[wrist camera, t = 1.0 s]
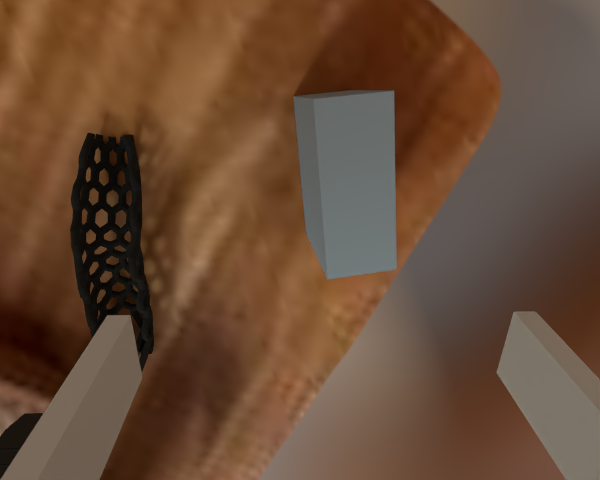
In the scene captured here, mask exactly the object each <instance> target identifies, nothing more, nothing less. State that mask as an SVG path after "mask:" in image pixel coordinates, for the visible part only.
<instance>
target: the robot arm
mask: <svg viewBox="0 0 600 480" xmlns="http://www.w3.org/2000/svg"><path fill="white" fill-rule="evenodd" d="M497 374H498V375H499V377H500V379H501V380H502V381H503V383H504V385H505V386H506V388H507V389H508V391H509V392H510V394H511V396H512V397H513V399H514V400H515V402H516V403H517V405H518V406H519V408H520V409H521V411H522V412H523V414H524V416H525V417H526V418H527V420H528V422H529V423H530V425H531V426H532V428H533V429H534V431H535V433H536V434H537V435H538V437H539V439H540V440H541V442H542V443H543V445H544V446H545V448H546V449H547V451H548V453H549V454H550V456H551V457H552V459H553V460H554V462H555V463H556V465H557V466H558V468H559V469H560V471H561V473H562V474H563V476H564V477H565V479H566V480H600V380H599V379H598V377H597V376H596V375H595V374H594V373H593V372H592V371H591V370H590V369H589V368H588V367H587V366H586V365H585V364H584V363H583V362H582V360H581V359H579V357H578V356H577V355H576V354H575V353H574V352H573V351H572V350H571V349H570V348H569V347H568V346H567V345H566V344H565V342H564V341H563V340H562V339H561V338H560V337H559V336H558V335H557V334H556V333H555V332H554V331H553V330H552V329H551V328H550V327H549V326H548V325H547V323H546V322H545V321H544V320H543V319H542V318H541V317H540V316H539V315H538V314H537V313H536V312H514V313H513V317H512V320H511V324H510V328H509V331H508V334H507V338H506V342H505V345H504V349H503V352H502V356H501V360H500V363H499V367H498V370H497ZM142 378H143V377H142V372H141V367H140V362H139V357H138V352H137V346H136V341H135V336H134V331H133V326H132V320H131V315H107V317H106V318H105V320H104V321H103V323H102V324H101V326H100V327H99V329H98V330H97V332H96V333H95V335H94V337H93V338H92V340H91V341H90V343H89V344H88V346H87V347H86V349H85V350H84V352H83V353H82V355H81V357H80V358H79V360H78V361H77V363H76V364H75V366H74V367H73V369H72V370H71V372H70V373H69V375H68V377H67V378H66V380H65V381H64V383H63V384H62V386H61V387H60V389H59V390H58V392H57V393H56V395H55V396H54V398H53V400H52V401H51V403H50V404H49V406H48V407H47V409H46V410H45V412H44V413H33V414H24V415H23V416H21V417H20V418H19V419H18V420H17V421H15V422H14V423H13V424H12V425H11V426H9V427H8V428H7V429H6V430H5V431H4V432H3V434H2V435H1V436H0V480H100V477H101V475H102V473H103V470H104V468H105V466H106V463H107V461H108V459H109V456H110V454H111V451H112V449H113V447H114V444H115V442H116V440H117V437H118V435H119V433H120V430H121V428H122V425H123V423H124V421H125V418H126V416H127V414H128V411H129V409H130V407H131V404H132V402H133V399H134V397H135V395H136V392H137V390H138V388H139V385H140V383H141V381H142Z"/></svg>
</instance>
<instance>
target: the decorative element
mask: <svg viewBox="0 0 600 480" xmlns="http://www.w3.org/2000/svg"><path fill="white" fill-rule="evenodd" d="M94 138H95V139H94ZM98 147H99V149H100V151H101V161H100V162H99V163H97V164H96V162H95V160H94V157H95V151H96V149H97V148H98ZM112 149H113V150H114V151H115V152H116V156H117V163H116V164H115V165H114V166H112V165H111V164H110V163H109V152H110V151H111V150H112ZM125 150H126V152H127V157H128V164H127V165H126V163H125V160H124V152H125ZM88 167H90V169H91V180H90V181H89V182H87V181H86V179H85V178H86V170H87V169H88ZM104 168H105V169H106V170H107V171H108V173H109V183H108V184H107V185H105V186H103V185H102V184H101V183H100V182H99V173H100V171H101V170H102V169H104ZM120 170H122V171H123V172H124V173H125V181H126V183H125V184H124V185H123V187H121V186H120V185H119V184H117V173H118V172H119V171H120ZM93 188H95V189H96V190H97V191H98V192H99V199H98V202H97V203H96V204H94V205H93V206H92V204H91V203H90V202H89V193H90V190H91V189H93ZM112 189H113V190H114V191H116V192H117V193H118V195H119V196H118V203H117V204H116V205H115V206H113V207H111V206H110V205H109V204H108V203H107V202H106V198H107V193H108V192H110V191H111V190H112ZM129 190H130V191H131V193H132V203H131V205H130V206H129V205H128V204H127V203H126V194H127V192H128V191H129ZM80 193H81V196H80ZM71 203H72V207H73V220H72V224H71V228H70V232H71V247H72V251H73V255H74V263H75V271H76V278H77V284H78V290H79V293H80V297H81V298H82V299H83V302H84V306H85V312H86V319H87V323H88V326H89V327H90V329H91V334H92V338H93V337H94V335H95V333H96V332H97V330H98V329H99V327H100V326H101V324H102V323H103V321H104V320H105V318H106V317H107V315H118V311H119V310H120V309H121V308H122V307H124V308H126V309H128V310H130V312H131V314H132V316H133V317H134V319H135V321H136V322H137V324H138V326H139V327H140V332H139V335H138V338H137V341H136V346H137V352H138V356H139V353H140V352H141V356H140V360H139V362H140V367H141V372H142V371H143V368H144V365H145V363H146V360H147V357H148V354H152V352H153V347H154V340H153V339H154V335H153V315H152V310H151V306H150V294H149V287H148V283H147V280H146V277H145V274H144V263H143V256H142V251H141V247H140V237H141V228H142V191H141V177H140V169H139V163H138V158H137V153H136V148H135V143H134V137H133V135H123V136H122V137H120V144H119V145H118V144H117V143H116V138H115V137H109V142H108V143H106V144H105V143H104V141H103V135H99V134H96V136H95V135H94V134H92V133H88V134H87V136H86V139H85V141H84V144H83V146H82V149H81V152H80V155H79V169H78V175H77V179H76V181H75V183H74V185H73V189H72V196H71ZM84 208H85V209H86V211H87V212H88V213H87V222H86V223H85V224H84V225H83V224H82V210H83V209H84ZM100 209H103V210H105V211H106V212H107V213H108V223H107V224H105V225H104V226H102V227H101V228H100V227H99V226H98V225H97V224H96V223H95V217H96V213H97V212H98V211H99V210H100ZM120 210H123V211H124V212H125V213H126V224H125V225H124V226H123V227H121V228H120V227H119V226H118V225H117V224H115V219H116V213H117V212H119V211H120ZM90 229H91V230H92V231H93V232H94V233H95V234H96V240H95V241H94V242H92V243H91V244H88V243H87V242H86V233H87V232H88V231H89V230H90ZM110 230H112V231H113V232H115V233H116V234H117V238H116V239H115V240H113V241H107V240H104V234H105V233H107V232H108V231H110ZM128 231H130V233H131V242H128V241H126V240H125V239H124V235H125V234H126V233H127V232H128ZM119 245H120V246H122V247H123V248H124V249H126V252H121V251H118V250H115V249H114V247H116V246H119ZM100 246H103V247H106V248H107V250H106V251H105V252H103V253H102V254H94V251H95V250H96V249H97V248H98V247H100ZM84 250H85V251H86V255H87V257H86V260H85V262H84V264H83V260H82V255H83V253H84ZM111 256H113V257H116V258H119V263H117V264H116V265H111V264H107V263H106V259H108V258H109V257H111ZM126 258H129V259H128V262H127V259H126ZM93 262H98V264H99V267H98V268H97V270H96V271H95V272H94V273H93V274H92V275H90V272H89V269H90V267H91V265H92V263H93ZM123 268H124V269H125V270H126V271H127V272H129V273H130V276H131V278H129V279H128V278H126V277H123V276H121V275H120V271H119V270H121V269H123ZM105 270H106V271H110V272H112V275H113V277H112V278H111V279H110V280H108V281H107V282H103V283H101V282H100V277H101V276H102V274H103V273H104V271H105ZM91 282H93V285H94V287H93V289H92V292H91V294H90V285H91ZM117 282H120V283H122V284H124V285H125V287H126V289H124V290H122V291H120V292H119V291H113V289H112V286H113V285H114V284H115V283H117ZM133 284H134V285H135V286H136V288H137V289H138V292H136V291H135V290H134V289H133V286H132V285H133ZM102 289H105V291H106V294H105V295H104V297H103V298H102V300H101V302H100V303H98V304H97V297H98V294H99V292H100V290H102ZM128 294H129V295H130V296H131V297H132V298H134V299H135V300H136V304H132V303H129V302H127V301H125V296H127V295H128ZM112 297H113V298H118V303H117V304H116V305H115V306H114V307H113V308H112V309H108V310H107V307H106V305H107V304H108V302H109V301H110V299H111V298H112ZM98 310H99V311H100V315H99V318H98V321H97V317H98ZM137 310H138V311H139V312H140V314H141V315H142V317H143V320H142V318H141V317H140V315H139V313H138V312H137Z"/></svg>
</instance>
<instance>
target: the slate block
mask: <svg viewBox="0 0 600 480" xmlns="http://www.w3.org/2000/svg"><path fill="white" fill-rule="evenodd" d="M293 100H294V110H295V121H296V131H297V142H298V152H299V163H300V173H301V184H302V195H303V205H304V216H305V226H306V234H307V236H308V238H309V240H310V243H311V245H312V247H313V249H314V251H315V253H316V256H317V258H318V260H319V262H320V264H321V266H322V269H323V271H324V273H325V275H326V277H327V279H334V278H341V277H348V276H355V275H361V274H368V273H375V272H382V271H389V270H395V269H397V268H396V192H395V116H394V91H393V90H348V91H338V92H328V93H319V94H309V95H300V96H293Z"/></svg>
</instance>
